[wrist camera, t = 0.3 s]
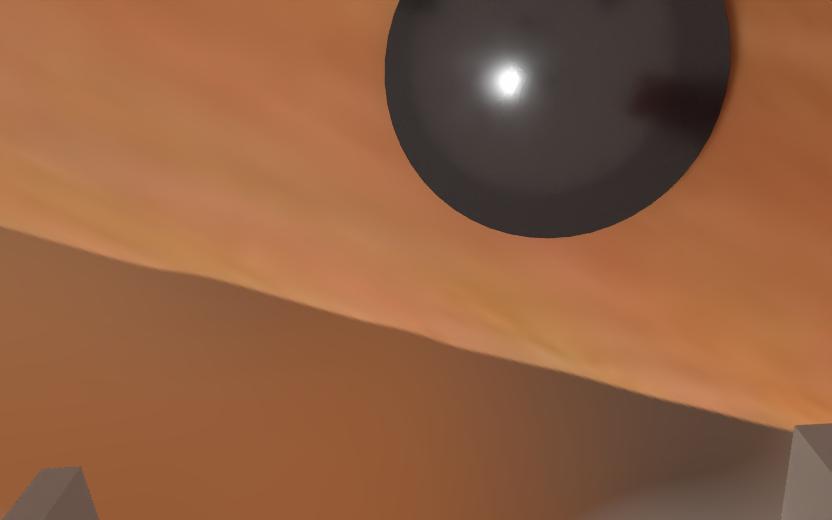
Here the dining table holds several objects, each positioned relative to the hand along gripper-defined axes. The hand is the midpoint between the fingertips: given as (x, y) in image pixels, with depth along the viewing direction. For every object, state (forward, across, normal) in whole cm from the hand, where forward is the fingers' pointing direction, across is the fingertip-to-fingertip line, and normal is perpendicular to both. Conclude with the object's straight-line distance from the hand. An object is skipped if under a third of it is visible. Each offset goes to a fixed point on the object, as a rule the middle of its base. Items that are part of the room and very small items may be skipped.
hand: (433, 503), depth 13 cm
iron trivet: (+27, +6, +4) cm, 28 cm away
